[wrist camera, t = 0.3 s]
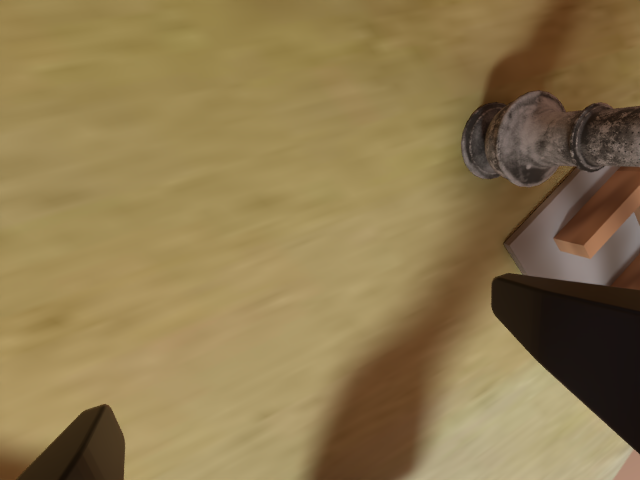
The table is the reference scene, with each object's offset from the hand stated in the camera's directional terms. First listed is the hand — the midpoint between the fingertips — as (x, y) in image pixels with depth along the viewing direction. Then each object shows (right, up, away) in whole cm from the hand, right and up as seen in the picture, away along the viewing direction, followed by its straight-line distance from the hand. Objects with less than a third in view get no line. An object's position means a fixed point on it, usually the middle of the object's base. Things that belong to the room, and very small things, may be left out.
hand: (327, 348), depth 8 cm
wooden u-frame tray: (+25, 0, +25) cm, 36 cm away
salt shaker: (+12, +10, +18) cm, 24 cm away
